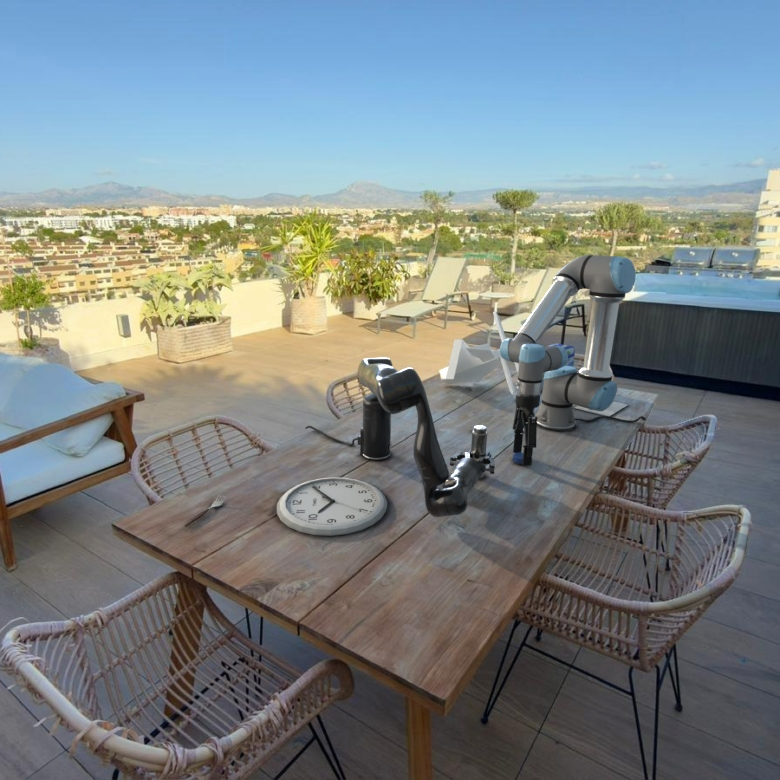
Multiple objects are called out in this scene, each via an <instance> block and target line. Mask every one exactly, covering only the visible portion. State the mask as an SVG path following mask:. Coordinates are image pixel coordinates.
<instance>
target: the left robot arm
mask: <svg viewBox="0 0 780 780" xmlns="http://www.w3.org/2000/svg"><path fill="white" fill-rule="evenodd" d="M357 377H358V380H359V383H360V385H361V386H362V387H364V388H367V389H368V390H369V391H370V392H371V393H369V394H367V395H365V396H364V397H363V398H362V427H361V428H360V429H359V432H360V433H359V435H358V436H357V437H354V438H353V439H352V441H351V443H346V442H343V441H341V440H339V439H337V438H335V437H333V436H331V435H328V434H327V433H325V432H323V431H322V430H319V429H317V428H316V427H314V426H311V425H307V426H305V427H304V429H305V430H308V429H312V430H313V431H315V432H318V433H320V434H321V435H323V436H324V437H327V438H328V439H330V440H332V441H334V442H336V443H339V444H344V445H347V446H351V447H352V446H354V445H355V441H357V446H359V455H360V456H361V457H363V458H365V459H367V460H370V461H384V460H387V459H388V458H390V457H391V456H392V455H391V454H392V453H391V449H392V444H391V439H392V438H391V433H392V432H391V431H392V415H396V414H399V413H402V412H404V411H406V410H409V409H412V408H413V407H415V409H416V413H417V425H416V426H417V427H416V433H415V437H414V443H413V459H414V462H415V464H416V465H415V466H416V467H417V470H418V473H419V475H420V477H421V480H422V485H423V493H424V504H425V509H426V511H427V512H428V514H429V515H430V516H432V517H434V518H444V517H452V516H459V515H462V514H464V512H466V510H467V509H468V495H469V493H470V492H471V490H472V489H473V488H474V487H475V486H476V484H478V481H479V480H480V479H479V478H480V476H481V474H482V473H484V474H485V473H486V472H489V473H490V474H491V475H494V474H495V468H496V463H495V458H494V457H492V453H491V451H486V455H485V456H484V457H480V458H478V459H473V458H471V449H468V450H467V451H466V452H463V451H458V452H457V453H455V454H453V455H452V456H450V457H449V466H450V467H453V468H451V470H449V467H448V465H447V462H446V460H445V457H444V454H443V451H442V449H441V446H440V443H439V440H438V437H437V432H436V427H435V423H434V419H433V415H432V411H431V408H430V404H429V400H428V396H427V393H426V389H425V386H424V384H423V381H422V379H421V377H420V375H419V373H418V372H417V371H416V370H415V369H414V368H413V367H410V366H409V367H405V368H402V369H401V370H397V368H395V367H394V366H393V362H392V360H391V358H389V357H367V358H363V359H361V360H360V362H359V364H358V366H357ZM440 485H442V488H438V487H439V486H440Z"/></svg>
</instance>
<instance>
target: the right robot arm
mask: <svg viewBox="0 0 780 780" xmlns="http://www.w3.org/2000/svg"><path fill="white" fill-rule="evenodd" d="M635 283H636V267H635V265H634V262H633V261H632V260H631V259H630V258H628V257H625V256H617V255H595V254H584V255H581V256H578V257H576V258H574V259H573V260H571V261H569V262H568V263H567V264H565V265H564V266H563V267H562V268H561V269H560V270H559V271H558V272H557V273H556V275H555V276H554V277H553V279H552V280H551V284H552V285H551V286H550V288H549V289H548V290H547V291H546V293H545V294H544V296H543V297H542V299H541V300H540V301H539V303H538V304H537V306H536V307H535V309H534V310H533V311H532V312H531V314H530V315H529V316H528V318H527V319H526V320H525V322H524V323H523V325H522V327H521V328H520V329H519V330H518V332H517V334H516V335H515V336H514V337H513V338H511V337H510V338H509V337H508V338H506V340H504V341H503V342H502V341H501V343H500V346H499V349H500V355H501V357H502V358H503V359H505V360H508V361H507V362H510V363H514V362H516V363H519V369H518V373H517V379H516V380H517V381H516V383H515V386H516V399H515V398H514V399H515V401H514V404H515V413H514V417H513V423H512V430H513V433H514V435H513V436H514V437H513V447H512V453H513V454H514V453H518V452H520V453H523V461H522V464H521V465H522V467H523V466H524V467H527V466H528V467H529V466H532V463H533V462H532V461H533V460H532V459H533V453H534V452H533V451H534V449H536V448H537V441H538V439H537V437H538V436H537V435H538V433H537V432H538V430H537V429H538V427H539V428H542V429H544V430H549V431H556V432H567V431H572V430H574V429H575V428H576V421H577V422H584V423H592V422H595V421H597V420H599V419H609V420H615V421H619V422H622V423H629V424H630V423H636V422H638V421H640V420H641V419H642V420H644V421H645V420H646V417H644V416H643V415H641V416H639V417H637V418H636V419H633V420H628V419H622V418H619V417H614V416H604V415H600V416H599V415H598V416H595V417H593V418H592V419H585V418H584V419H583V418H577V417H576V416H575V413H574V407H573V405H574V406H581V407H585V408H588V409H590V410H596V411H604V410H606V409H607V408H608V407H609V406H610V405H611V404H612V402H613V401H614V400H615V399H616V396H617V394H618V385H617V382H615V381H614V380H613V373H612V372H611V371H610V364H611V357H612V352H613V345H614V338H615V332H616V326H617V320H618V313H619V307H620V303H621V302H622V301H623V300H624V299H625V298H626V294H630V292H632V290H633V288H634V286H635V285H636V284H635ZM585 289H586V290H589V292H588V296H589V297H590V299H591V300H592V303H591V310H590V318H589V324H588V332H587V338H586V344H585V351H584V352H585V353H584V360H583V366H582V367H581V368H580V369H578V368H577V367H576V366H573V367H572V366H565V365H566V363H567V361H568V354H567V352H566V350H565V349H564V348H563V347H561V346H551V347H548V346H549V345H542V344H539V342H540V341H541V339H542V337H544V335H545V334H546V331H548V329H549V328H550V327H551V325H552V324H553V322H554V321H555V319H557V317H558V315H559V314H560V312H561V311H562V310H563V308H564V307H565V306H566V304H567V302H568V301H569V300H570V299H571V297H574V296H576V295H577V294H578V292H579V291H580V290H585ZM543 373H545V374H544V378H543V379H544V381H543V390H541V389H542V377H543ZM536 408H538V410H537V411H536V413H535V411H534V410H535V409H536ZM523 443H524V445H523ZM522 451H523V452H522Z"/></svg>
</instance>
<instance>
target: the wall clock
mask: <svg viewBox="0 0 780 780" xmlns="http://www.w3.org/2000/svg"><path fill="white" fill-rule="evenodd" d="M387 509H388V500H387V498H386V496H385V494H384V493H383V492H382V491H381V490H380V489H379V488H377V487H376V486H374V485H372V484H371V483H369V482H365V481H362V480H359V479H355V478H349V477H338V476H337V477H335V476H333V477H332V476H331V477H322V478H317V479H312V480H307V481H305V482H302V483H299V484H297V485H295V486H293V487H292V488H290V489H288V490H287V491H286V492H285V493H284V494H283V495H281V496H280V498H279V499H278V502H277V503H276V515H277V517H278V518H279V520H280V521H281V522H282V523H283V524H285V525H286V526H287V527H288V528H290V529H293V530H295V531H297V532H299V533H303V534H308V535H312V536H327V537H328V536H329V537H331V536H332V537H333V536H342V535H350V534H352V533H356V532H361V531H363V530H366V529H368V528H369V527H372V526H373V525H375V524H376V523H378V522H379V521H380V520H381V519H382V518H383V517H384V516H385V514H386V512H387Z"/></svg>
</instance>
